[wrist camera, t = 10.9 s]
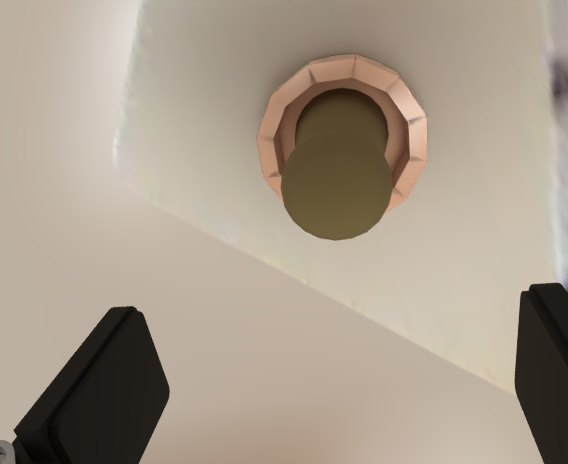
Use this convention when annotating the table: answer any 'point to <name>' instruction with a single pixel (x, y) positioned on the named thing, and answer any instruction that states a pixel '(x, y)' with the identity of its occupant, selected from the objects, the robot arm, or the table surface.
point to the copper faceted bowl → (367, 79)
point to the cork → (338, 166)
